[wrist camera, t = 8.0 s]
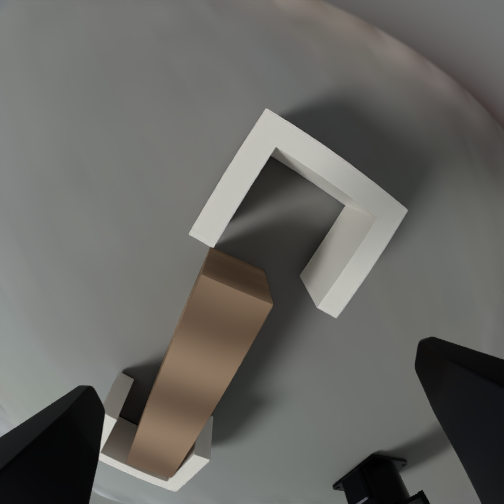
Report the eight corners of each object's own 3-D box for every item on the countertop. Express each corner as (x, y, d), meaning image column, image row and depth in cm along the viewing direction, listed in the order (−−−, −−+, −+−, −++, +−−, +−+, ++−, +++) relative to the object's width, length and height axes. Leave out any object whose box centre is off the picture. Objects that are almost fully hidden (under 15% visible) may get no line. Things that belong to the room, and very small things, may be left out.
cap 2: (370, 199, 17) (408, 210, 13) (315, 285, 19) (336, 318, 14) (259, 123, 16) (266, 108, 12) (200, 218, 17) (188, 234, 13)
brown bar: (179, 432, 22) (171, 477, 17) (140, 418, 22) (126, 462, 17) (264, 270, 19) (273, 304, 14) (210, 246, 18) (201, 274, 13)
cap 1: (213, 416, 21) (210, 459, 17) (181, 453, 23) (175, 491, 18) (120, 371, 20) (100, 411, 16) (100, 415, 21) (83, 451, 17)
